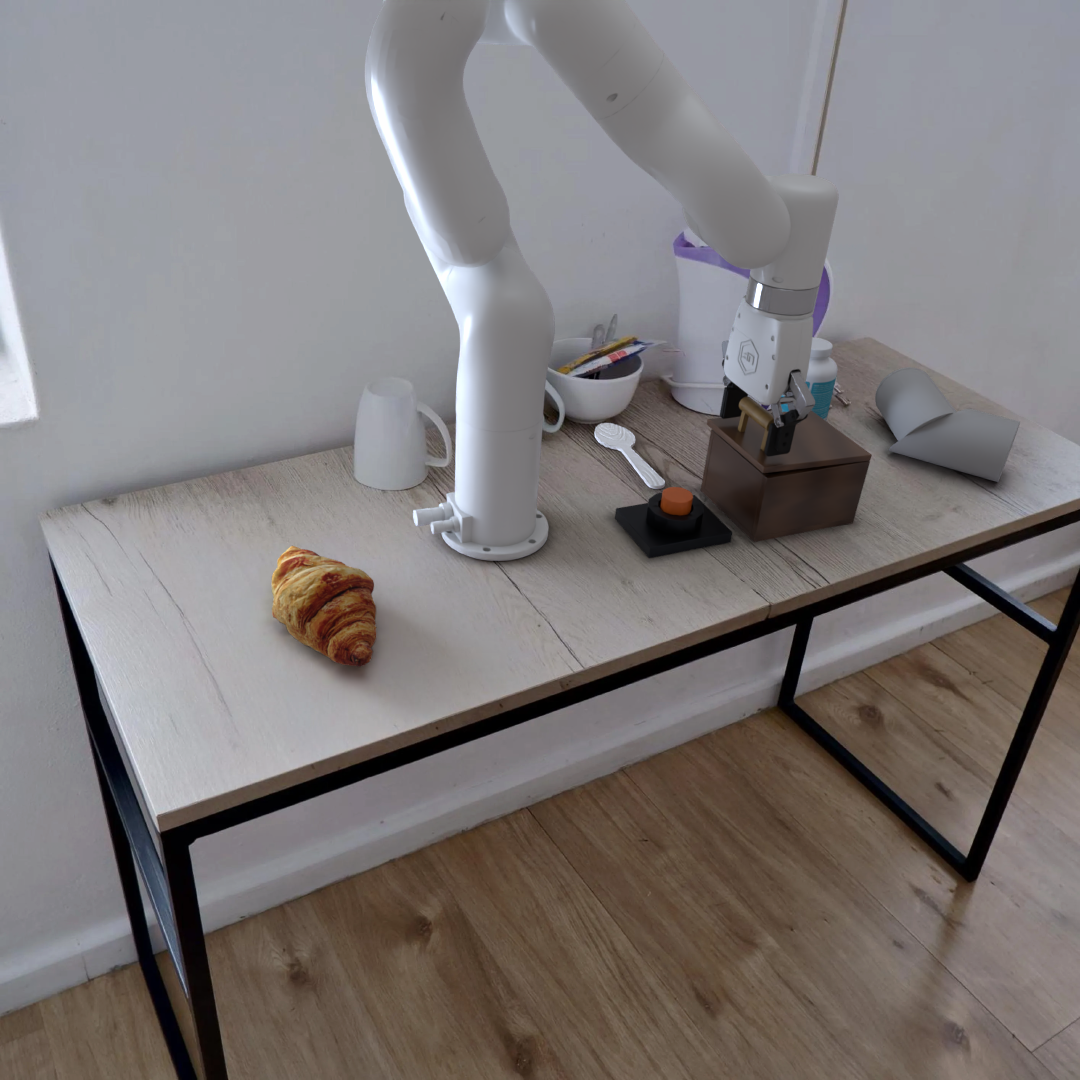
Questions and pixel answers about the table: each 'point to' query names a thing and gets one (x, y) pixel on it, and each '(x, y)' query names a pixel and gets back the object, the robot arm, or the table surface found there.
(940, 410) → the elbow connector
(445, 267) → the robot arm
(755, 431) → the lid
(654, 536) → the switch block
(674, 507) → the button
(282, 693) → the table surface
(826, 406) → the pill bottle
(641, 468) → the spoon
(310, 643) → the croissant
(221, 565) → the table surface
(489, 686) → the table surface
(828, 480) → the tea box
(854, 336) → the table surface
